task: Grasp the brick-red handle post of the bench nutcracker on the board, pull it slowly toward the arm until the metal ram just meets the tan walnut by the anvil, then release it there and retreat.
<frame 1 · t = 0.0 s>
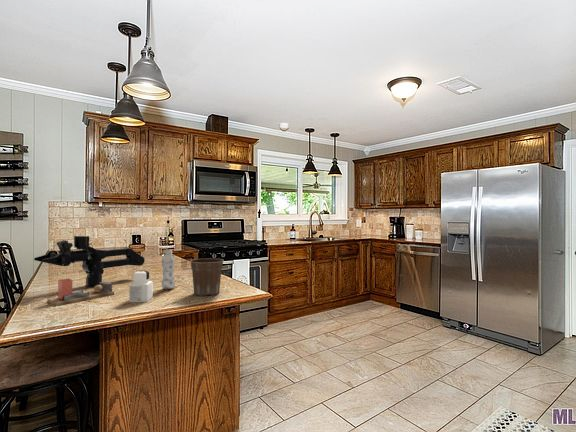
hand: (38, 260, 158), 17 cm above the countertop, tool horizontal, fingers open, 9 cm apart
ram: (70, 288, 149), point 6 cm above the countertop, slide at 0.0 cm
container: (141, 300, 151), on the countertop
nutcracker base: (82, 298, 153), on the countertop
plastic bottle: (168, 289, 172), on the countertop
plant pot: (206, 293, 165), on the countertop
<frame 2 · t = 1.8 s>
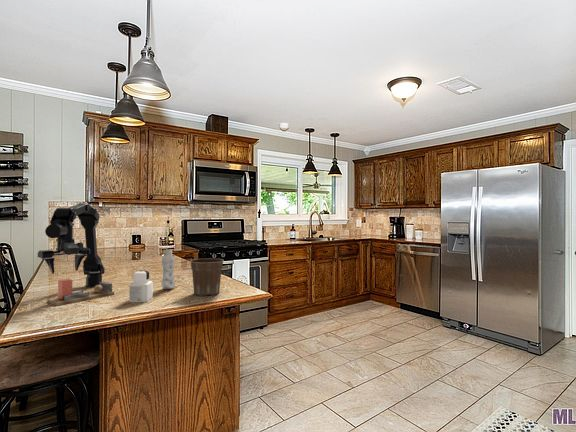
hand: (65, 272, 147), 13 cm above the countertop, tool pointing down, fingers open, 9 cm apart
nothing on the countertop moved.
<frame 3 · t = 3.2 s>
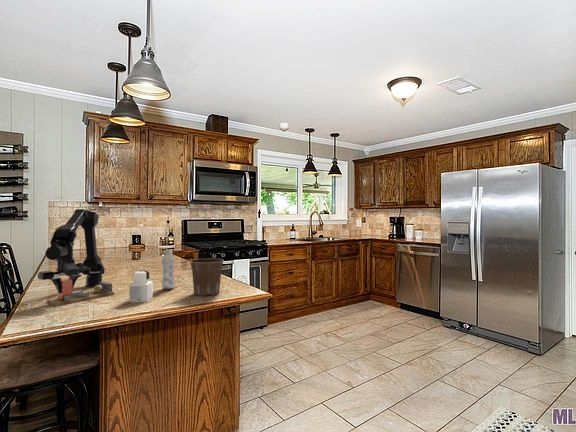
hand: (65, 292, 148), 4 cm above the countertop, tool pointing down, fingers closed on ram, 4 cm apart
ram: (70, 288, 149), point 6 cm above the countertop, slide at 0.0 cm, touching gripper
everything else where it was.
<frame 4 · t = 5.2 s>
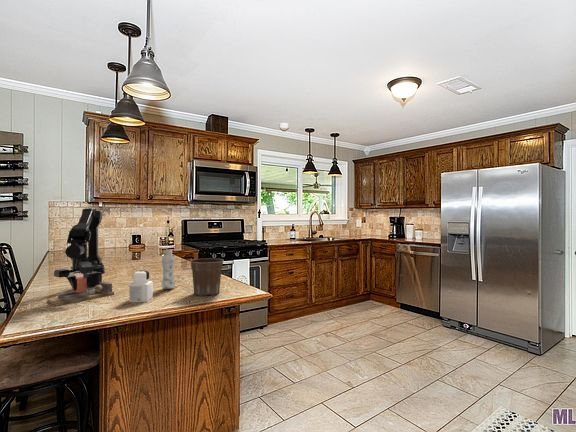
hand: (79, 289, 152), 4 cm above the countertop, tool pointing down, fingers closed on ram, 4 cm apart
ram: (84, 285, 154), point 6 cm above the countertop, slide at 5.9 cm, touching gripper
everything else where it was.
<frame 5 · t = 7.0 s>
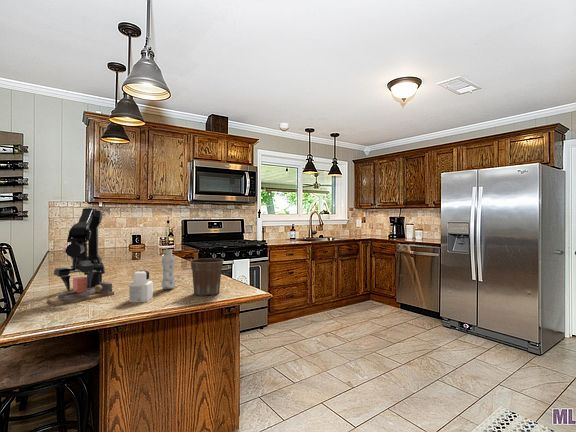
hand: (79, 288, 152), 5 cm above the countertop, tool pointing down, fingers open, 9 cm apart
ram: (84, 285, 154), point 5 cm above the countertop, slide at 6.0 cm
everything else where it was.
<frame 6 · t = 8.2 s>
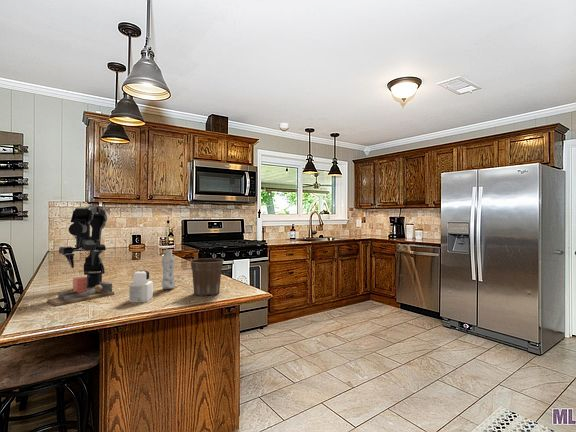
hand: (83, 266, 161), 13 cm above the countertop, tool pointing down, fingers open, 9 cm apart
nothing on the countertop moved.
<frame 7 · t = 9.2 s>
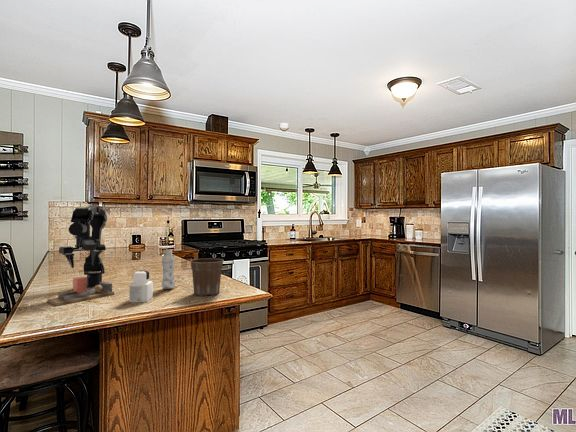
hand: (83, 266, 161), 13 cm above the countertop, tool pointing down, fingers open, 9 cm apart
nothing on the countertop moved.
at the end: ram slide at 6.0 cm; the gripper is holding nothing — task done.
